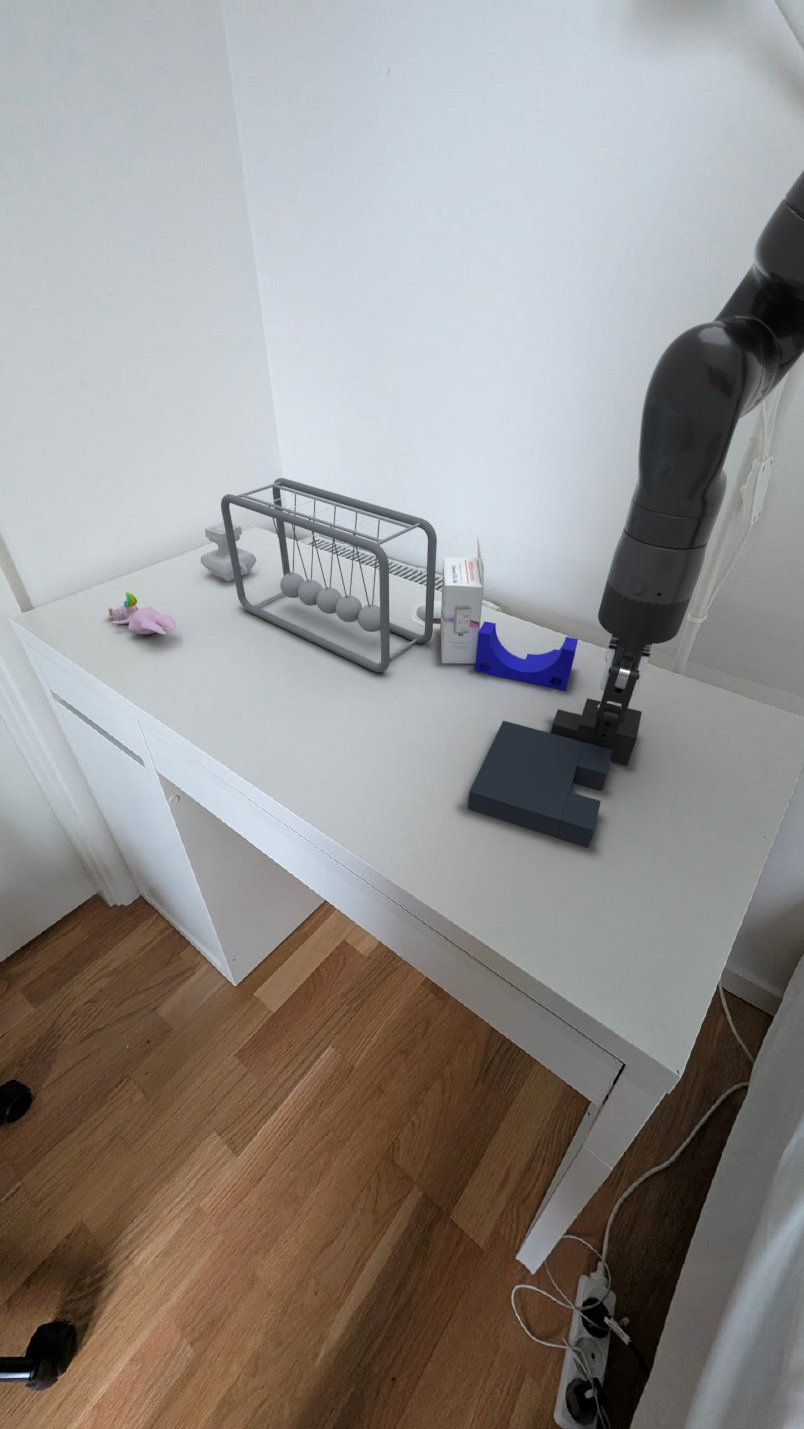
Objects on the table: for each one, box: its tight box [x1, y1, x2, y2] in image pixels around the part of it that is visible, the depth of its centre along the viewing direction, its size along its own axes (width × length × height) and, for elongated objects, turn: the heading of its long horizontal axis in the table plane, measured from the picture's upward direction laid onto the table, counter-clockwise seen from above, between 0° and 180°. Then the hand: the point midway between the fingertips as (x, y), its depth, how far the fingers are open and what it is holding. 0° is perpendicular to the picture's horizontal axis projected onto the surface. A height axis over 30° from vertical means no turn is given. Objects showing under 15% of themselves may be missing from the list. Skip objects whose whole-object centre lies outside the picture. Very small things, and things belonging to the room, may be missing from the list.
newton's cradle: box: [220, 477, 438, 673], centre depth 80 cm, size 30×10×18 cm, turn 51°
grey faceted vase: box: [200, 521, 258, 582], centre depth 96 cm, size 9×7×8 cm
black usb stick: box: [550, 697, 643, 766], centre depth 65 cm, size 9×5×4 cm, turn 66°
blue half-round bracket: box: [474, 620, 579, 692], centre depth 75 cm, size 12×4×6 cm, turn 69°
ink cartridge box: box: [439, 536, 485, 665], centre depth 77 cm, size 9×5×15 cm, turn 179°
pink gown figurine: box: [107, 592, 177, 636], centre depth 83 cm, size 6×6×15 cm
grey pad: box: [467, 720, 612, 848], centre depth 60 cm, size 12×12×2 cm
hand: (607, 716), depth 63 cm, fingers open, 8 cm apart
